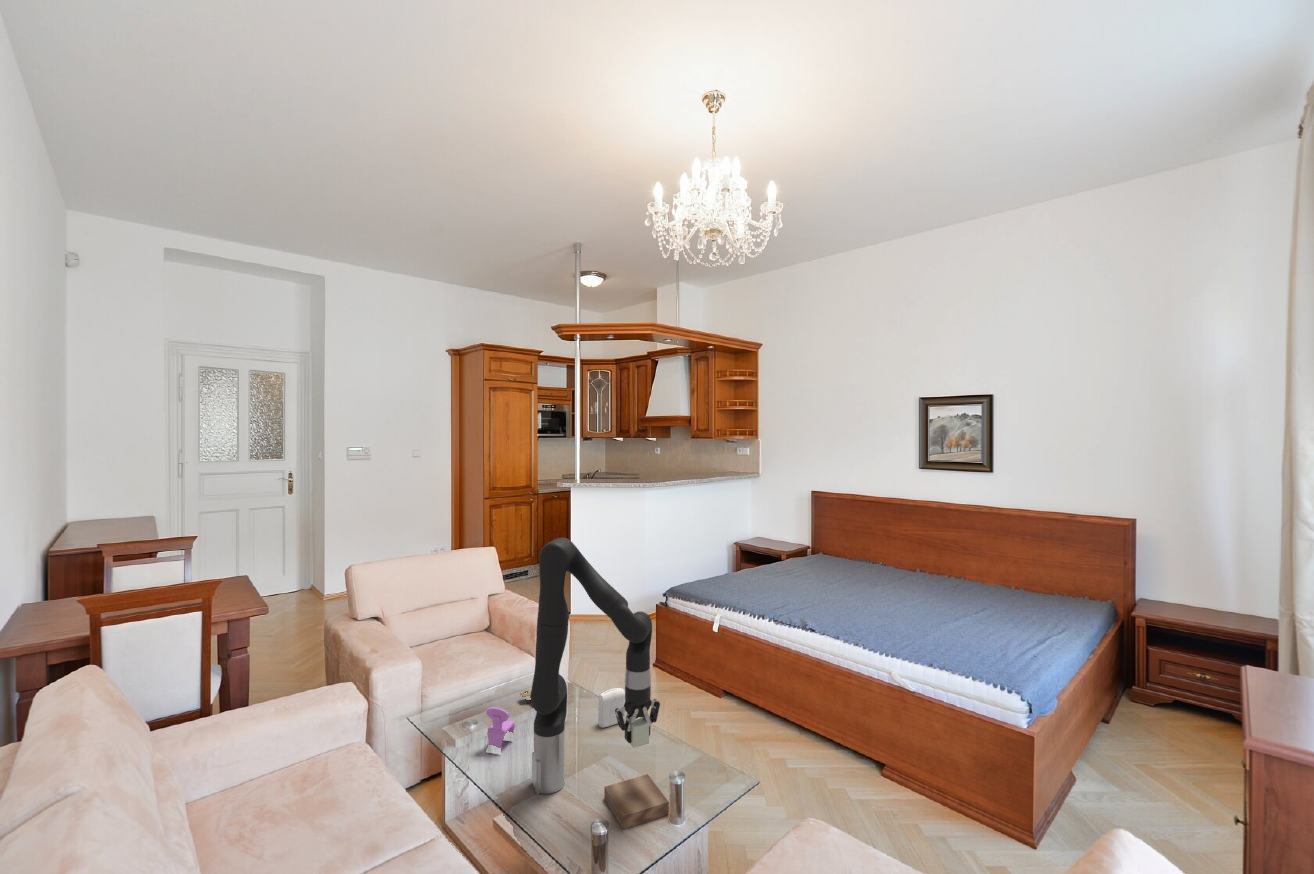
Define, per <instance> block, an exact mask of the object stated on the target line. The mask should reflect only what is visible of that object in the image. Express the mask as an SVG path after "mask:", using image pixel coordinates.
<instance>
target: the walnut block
mask: <svg viewBox="0 0 1314 874" xmlns="http://www.w3.org/2000/svg"><path fill="white" fill-rule="evenodd" d="M603 788H604V790H603V791H604V793H603V794H604V797H603V798H604V800H605V801H606V804H607V805H608V807H609V809H610V810H611V812H612V813H613V816H615V819H616V821H617V822H618V824H619V825H620V827H621V828H622V829H623V830H625V829H628V828H632V827H634V826H637V825H640V824H643V823H646V822H649V821H652V820H655V819H659V818H661V817H663V816H664V817H665V816H666V815H669V814H670V811H669V810H670V802H669V800H668V798H667V797H666V796H665V794H664V793H663V792H662V791H661V790H660V788H659V787H658V786H657V784H656V782H654V780H653V779H652V777H650V775H649V774H648V773H646V774H643V775H640V776H636V777H633V778H630V779H627V780H623V781H620V782H616V783H614V784H613V783H612V784H609V785H606V786H604V787H603ZM668 813H669V814H668Z"/></svg>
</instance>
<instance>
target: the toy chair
mask: <svg viewBox="0 0 1314 874" xmlns="http://www.w3.org/2000/svg"><path fill="white" fill-rule="evenodd" d="M485 713H486V715H487V717H489V718H490V719H492V724H491V725H490V726H489V727H488V728H487V732H486V733H487V738H488V745H493V746H496V747H498V748H501V749H502V744H503V742H504V741H503V739H504V736H505V734H506V733H507V731H509V732H512V733H513V734H514V730H515V727H516V724H515V721H512V720H508V719H509V717H510V714H509V712H508V711H507V710H505V709H503V708H500V707H496V706H491V707H488V708H487V709H486V712H485Z"/></svg>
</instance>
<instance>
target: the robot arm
mask: <svg viewBox="0 0 1314 874" xmlns="http://www.w3.org/2000/svg"><path fill="white" fill-rule="evenodd" d="M538 561H539V562H538V565H539V596H538V597H539V598H538V608H537V617H536V618H537V620H536V634H535V635H536V637H535V638H536V640H535V641H536V642H535V665H534V672H533V673H534V674H533V677H532V678H533V679H532V685H531V689H530V691H531V696H530V698H531V701H530V704H531V706H532V708H533V709H534V711H536V714H535V717H534V720H533V751H532V752H531V784H532V786H533V788H534V790H535V793H536V794H537V795H538V794H546V795H547V794H554V793H556V792H559V791H561V790H562V789H563V787H565V782H566V781H565V779H566V778H565V777H566V775H565V771H566V770H565V767H566V765H565V763H566V762H565V760H566V759H565V758H566V757H565V756H566V755H565V754H566V753H565V751H566V750H565V744H566V742H565V741H566V740H565V738H566V737H565V736H566V734H565V732H566V731H565V726H566V725H565V724H566V718H567V712H568V711H567V710H568V709H567V708H568V686H567V683H566V680H565V679H564V677H563V676H562V675H561V674H560V667H561V663H562V658H563V655H564V651H565V648H566V644H567V639H568V634H569V633H568V631H569V620H570V619H569V617H570V616H569V615H570V614H569V607H568V603H567V601H566V596H565V581H566V575H567V572H568V573H570V575H572V576H573V577H574V578H576V580H577V581H578V582H579V584H580V585H581V586H582V587H583V589H584V590H585V592H586V594H587V595H588V597H589V599H590V600H591V602H592V603H594V605H595V606H596V607H597V608H598V609H599V610H600V611H601V612H602V613H604V614H605V615H606V616H607V617H608V618H609V619H610V620H611V622H612V623H613V625H614V626H615V627H616V629H617V630H618V631H619V633H620V634H621V635H622V637H624V638H625V639H626V640H628V646H627V649H626V652H625V654H626V655H625V673H624V674H625V675H624V691H625V704H624V707H622V708H620V709H618V708H616V709H615V713H616V718H617V722H618V724H617V726H618V727H619V728H620V730H621V731H623V732H624V739H625V741H626V742H627V743H628V744H630V743H631V728H632V725H633V724H634V722H635V719H637V718H639V717H643V718H644V719H645V720H646V722H648V723H649V737H650V736H651V726H652V724H653V723H654V724H655V723H657V720H658V716H659V711H660V705H661V703H660V701H659V700H657V698H653V699H651V697H652V695H651V694H652V693H651V692H652V691H651V690H652V678H651V677H652V675H651V654H650V653H651V643H652V635H653V622H652V618H651V617H650V615H649V614H648V613H646V611H645V612H644V611H636V612H634V613H633V612H632V610H631V608H630V607H629V602H628V600H627V599H626V598H625V597H624V596H623V595H622V594H621V593H620V592H618V591H617V590H616V589H615V588H614V587H613V586H612V585H611V584H610V583H609V582H607V580H606V579H604V578H603V577H602V576H601V574H600V573H599V572H598V571H597V570H596V569H595V568H594V567H593V565H592V564H591V563H590V562H589V561H588V560H587V559H586V557H585V556H584V555H583V554H582V552H581V551H580V550H579V549H578V547H577V546H576V544H574V542H573V541H572V540H570V539H568V538H566V537H557V538H555V539H553V540H551V541H550V542H547V543H546V544H544V546H543V547H542V548H541V550H540V552H539V559H538ZM650 708H651V709H650ZM649 710H650V712H648V711H649ZM624 712H625V713H626V714H625V721H624V719H623V716H624Z"/></svg>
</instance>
